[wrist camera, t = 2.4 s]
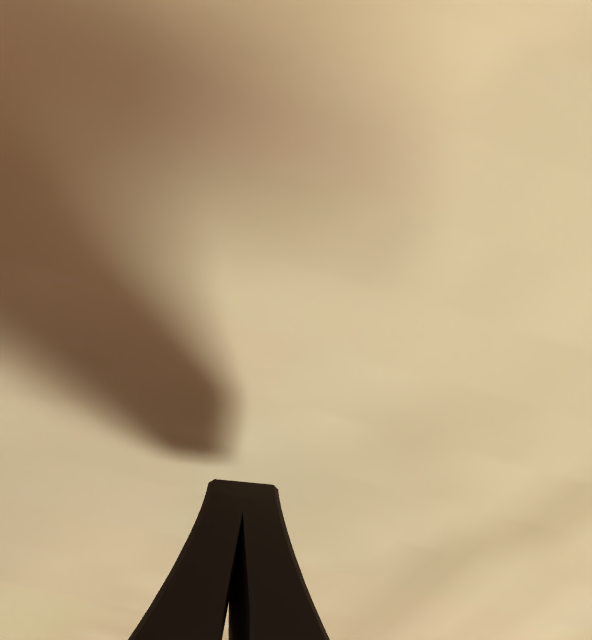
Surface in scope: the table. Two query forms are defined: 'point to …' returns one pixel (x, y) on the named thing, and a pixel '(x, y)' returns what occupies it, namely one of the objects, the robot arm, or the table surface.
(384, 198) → the table surface
